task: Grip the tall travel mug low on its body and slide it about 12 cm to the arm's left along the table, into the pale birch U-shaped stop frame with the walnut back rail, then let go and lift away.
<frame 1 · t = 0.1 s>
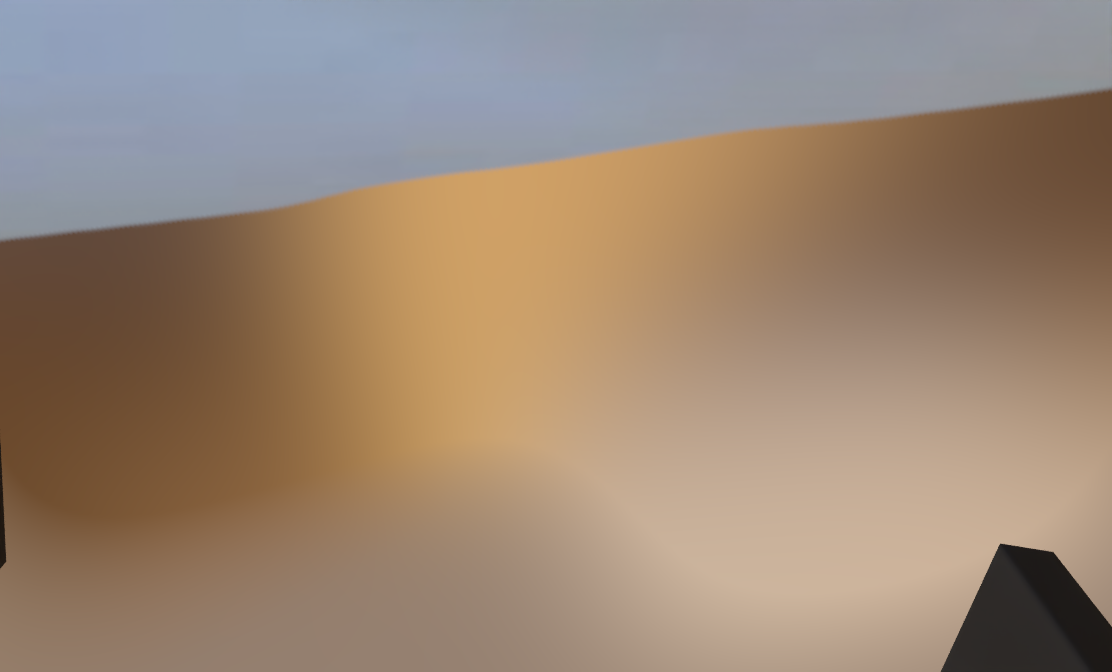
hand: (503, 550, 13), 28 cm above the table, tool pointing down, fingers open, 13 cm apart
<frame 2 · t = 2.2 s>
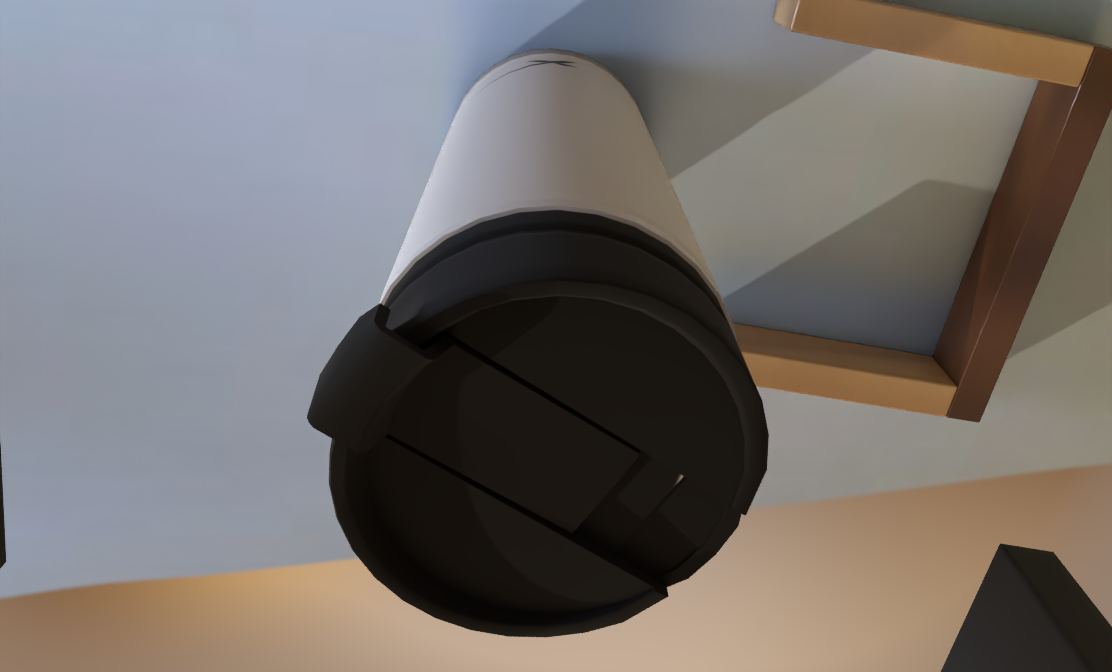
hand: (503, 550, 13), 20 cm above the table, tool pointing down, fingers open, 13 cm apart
stop frame: (869, 203, 32), on the table
travel mug: (544, 142, 31), on the table
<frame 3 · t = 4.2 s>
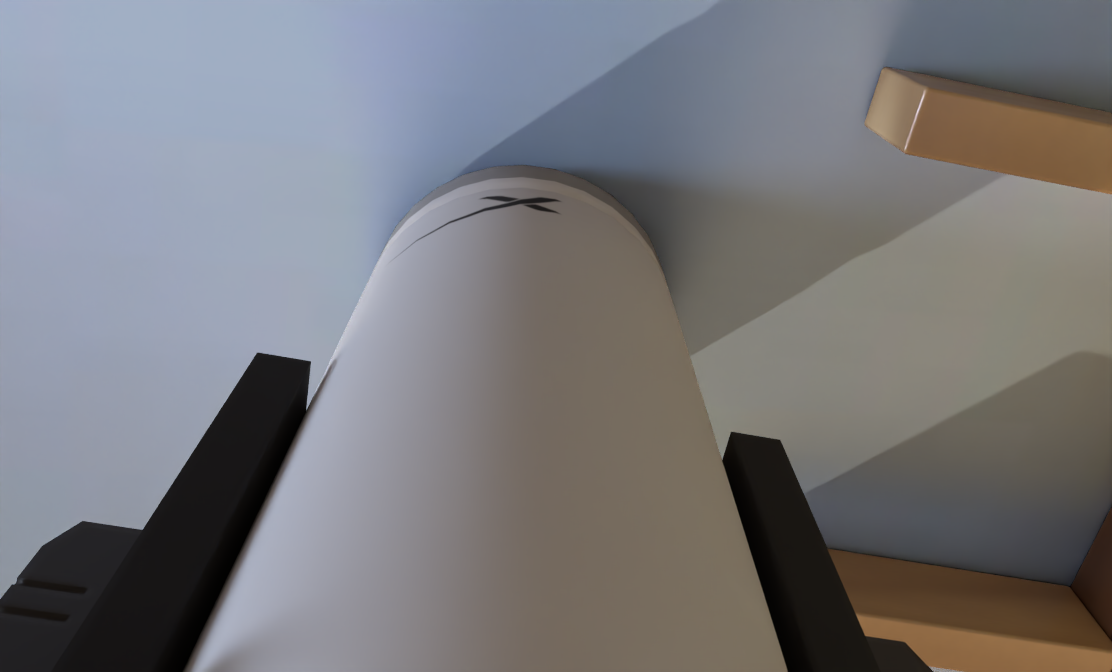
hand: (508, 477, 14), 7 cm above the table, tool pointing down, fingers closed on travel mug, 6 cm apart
stop frame: (994, 383, 22), on the table
travel mug: (514, 296, 21), on the table, touching gripper
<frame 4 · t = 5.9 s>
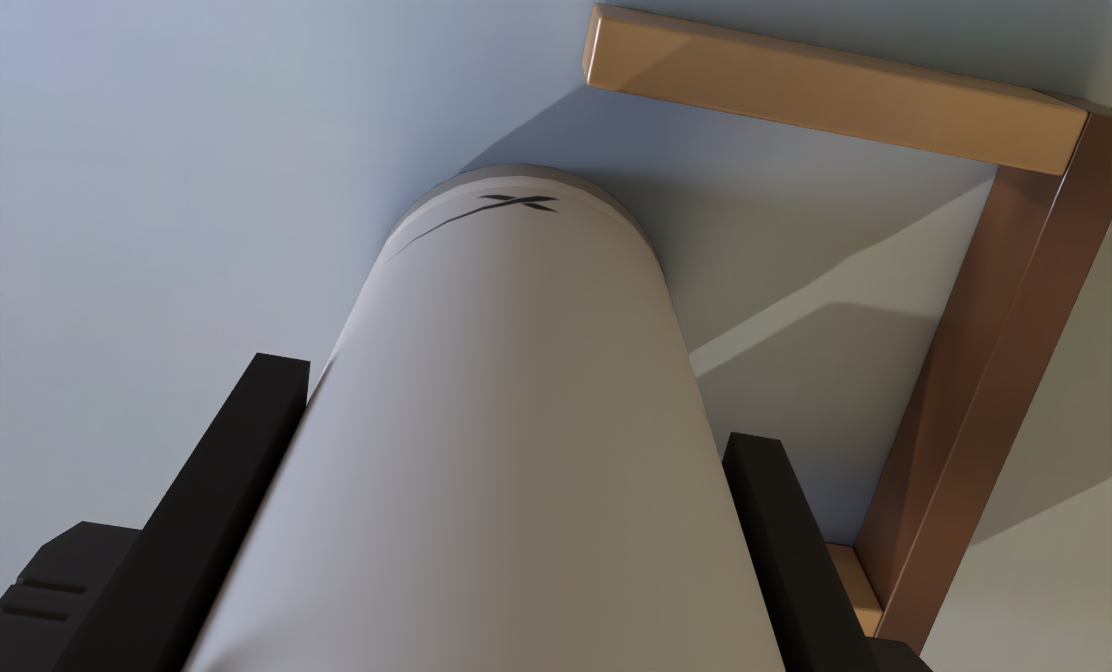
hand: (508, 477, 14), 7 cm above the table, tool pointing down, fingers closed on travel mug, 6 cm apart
stop frame: (750, 335, 21), on the table
travel mug: (512, 295, 21), on the table, touching gripper
when the fingers open (7 cm above the table, at t = 7.9 s): travel mug stays where it is, on the table.
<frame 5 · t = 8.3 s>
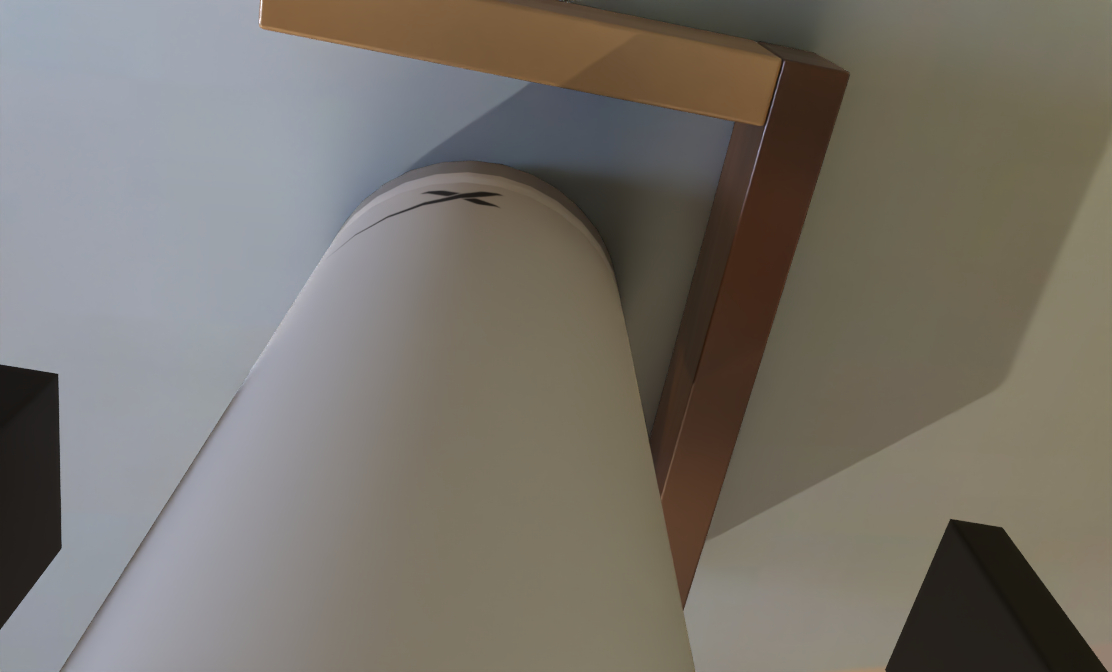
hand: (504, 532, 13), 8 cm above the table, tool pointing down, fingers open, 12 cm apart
stop frame: (497, 298, 21), on the table
travel mug: (466, 293, 21), on the table
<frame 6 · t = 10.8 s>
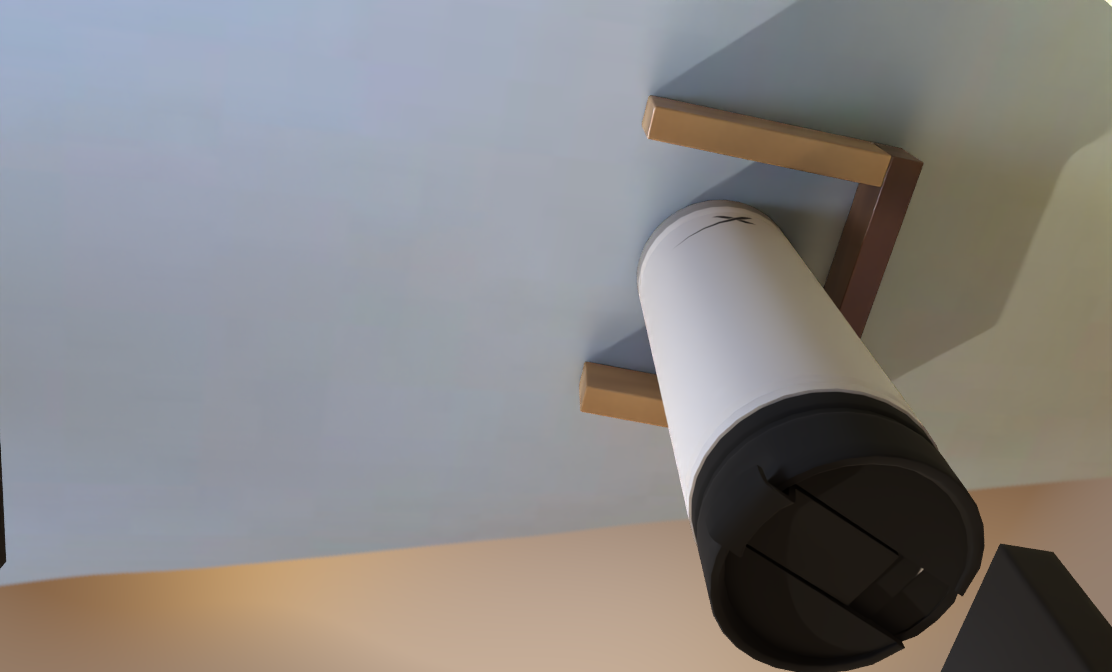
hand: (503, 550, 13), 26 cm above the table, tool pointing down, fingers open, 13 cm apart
stop frame: (727, 272, 39), on the table
travel mug: (709, 269, 39), on the table
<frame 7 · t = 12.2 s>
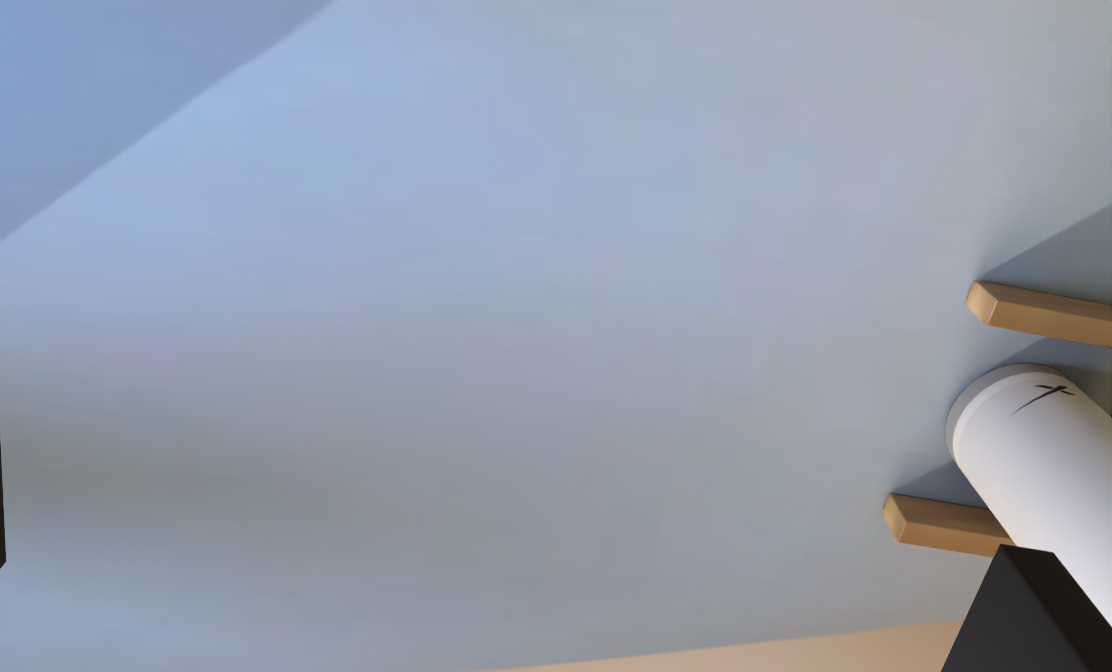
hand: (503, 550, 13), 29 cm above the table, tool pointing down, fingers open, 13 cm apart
stop frame: (1022, 419, 45), on the table
travel mug: (1006, 417, 45), on the table
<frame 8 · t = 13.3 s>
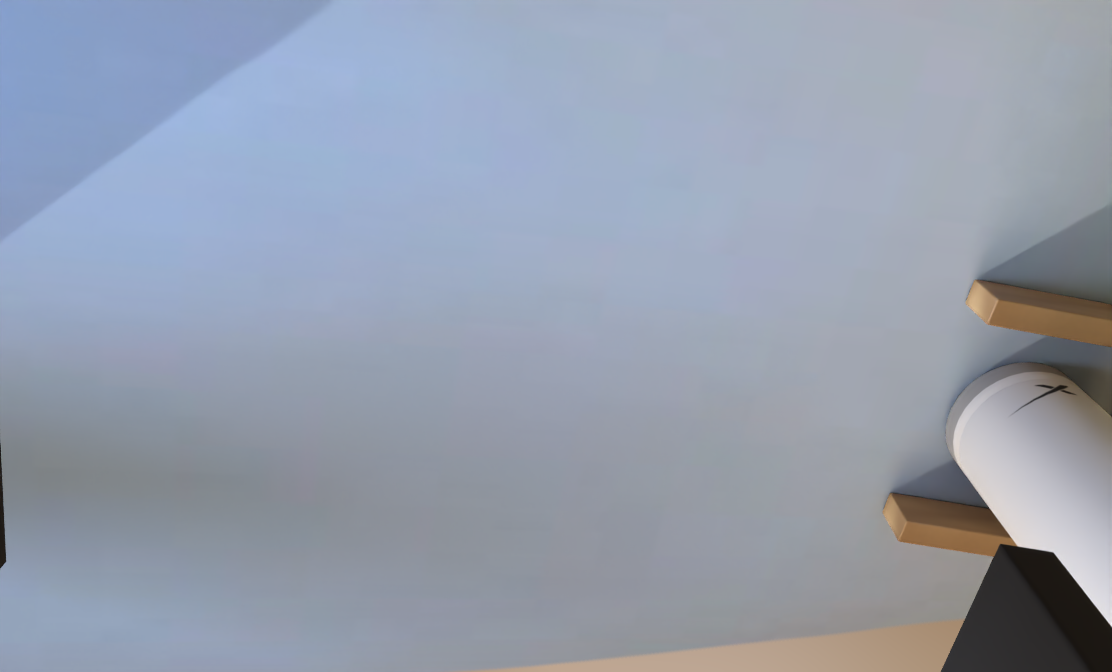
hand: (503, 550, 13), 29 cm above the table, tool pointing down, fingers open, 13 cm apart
stop frame: (1022, 418, 45), on the table
travel mug: (1006, 416, 45), on the table
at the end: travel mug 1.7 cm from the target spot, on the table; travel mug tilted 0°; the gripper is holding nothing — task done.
